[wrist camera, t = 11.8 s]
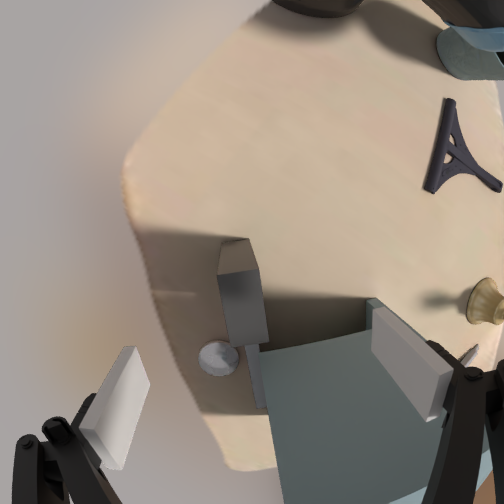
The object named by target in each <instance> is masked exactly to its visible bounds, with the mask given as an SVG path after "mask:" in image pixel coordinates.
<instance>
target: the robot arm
mask: <svg viewBox="0 0 504 504" xmlns="http://www.w3.org/2000/svg"><path fill="white" fill-rule="evenodd" d="M272 1H274V2H275V3H277V4H279V5H281V6H283V7H285V8H287V9H289V10H291V11H294V12H297V13H300V14H304V15H308V16H313V17H322V18H334V17H341V16H345V15H347V14H350V13H352V12H353V11H355V10H356V9H357V8H358V7H359V6H360V4H361V3H362V2H363V1H364V0H272ZM422 1H423V2H424V3H425V4H426V5H428V6H429V7H430V8H431V9H432V10H433V11H434V12H435V13H436V14H438V15H439V16H440V17H441V19H442V20H443V22H444V23H445V24H447V25H448V26H450V27H452V28H453V29H454V30H455V31H456V32H457V33H458V34H459V35H461V36H462V37H463V38H464V39H465V40H466V41H467V42H468V43H469V44H470V45H472V46H474V47H475V48H478V49H481V50H485V51H489V52H503V51H504V0H422ZM371 351H372V352H373V353H374V355H375V356H376V357H377V359H378V360H379V361H380V362H381V364H382V365H383V366H384V368H385V369H386V370H387V372H388V373H389V374H390V375H391V377H392V378H393V379H394V381H395V382H396V383H397V385H398V386H399V387H400V388H401V390H402V391H403V392H404V394H405V395H406V396H407V398H408V399H409V400H410V402H411V403H412V404H413V406H414V407H415V408H416V410H417V411H418V412H419V414H420V415H421V416H422V418H423V419H424V420H425V422H428V421H430V420H433V419H435V418H437V417H439V416H440V413H441V411H442V408H444V409H445V410H446V411H447V413H446V416H445V419H444V421H443V424H442V427H441V428H443V430H442V435H441V439H440V443H439V447H438V451H437V455H436V459H435V463H434V466H433V470H432V473H431V476H430V479H429V482H428V486H427V488H426V491H425V494H424V497H423V500H422V503H421V504H473V500H474V496H475V491H476V487H477V481H478V476H479V470H480V463H481V456H482V448H483V438H484V426H485V427H486V432H487V437H488V442H489V448H490V454H491V460H492V467H493V474H494V483H495V494H496V504H504V359H503V360H501V361H500V362H498V365H497V368H496V370H493V371H488V372H483V371H482V370H481V369H479V368H477V367H465V366H464V365H462V364H461V363H460V362H459V361H458V360H457V359H456V358H455V357H453V356H452V355H451V354H449V352H448V351H447V350H445V349H444V348H443V347H442V346H441V345H440V344H439V343H436V342H434V341H431V340H429V341H426V342H424V341H423V340H422V339H421V338H420V337H419V336H418V335H416V334H415V333H414V332H413V331H412V330H411V329H410V328H409V327H407V326H406V325H405V324H404V323H403V322H402V321H401V320H400V319H398V318H397V317H396V316H395V315H394V314H393V313H392V312H390V311H389V310H388V309H387V308H386V307H385V306H384V307H380V308H376V309H373V319H372V343H371ZM150 385H151V384H150V382H149V379H148V377H147V374H146V371H145V369H144V366H143V363H142V361H141V358H140V355H139V352H138V350H137V347H136V346H127V347H124V348H123V349H122V351H121V353H120V355H119V356H118V358H117V360H116V361H115V363H114V365H113V366H112V368H111V370H110V372H109V373H108V375H107V377H106V379H105V381H104V382H103V384H102V386H101V387H100V389H99V391H98V393H97V394H96V393H92V394H91V395H90V396H88V397H87V398H86V399H85V401H84V402H83V404H82V406H81V408H80V409H79V411H78V413H77V414H76V416H75V418H74V420H73V422H72V423H71V425H69V424H68V422H67V421H66V419H65V418H63V417H53V418H50V419H48V420H47V421H46V422H45V423H44V424H43V426H42V432H43V433H44V435H45V436H46V438H47V439H48V441H46V442H40V441H39V440H38V438H37V437H36V436H35V435H32V434H27V435H25V436H22V437H21V438H20V439H19V440H18V441H17V444H16V451H15V458H14V468H13V482H12V504H70V500H69V494H70V496H71V498H72V501H73V503H74V504H122V502H121V501H120V499H119V498H118V496H117V495H116V493H115V492H114V490H113V488H112V487H111V485H110V483H109V482H108V480H107V478H106V476H105V475H104V473H103V471H102V470H101V469H100V464H101V461H102V462H103V463H104V465H105V466H106V467H107V469H114V470H122V469H123V466H124V463H125V460H126V456H127V453H128V450H129V447H130V444H131V441H132V438H133V435H134V432H135V428H136V426H137V423H138V420H139V417H140V414H141V411H142V408H143V405H144V402H145V399H146V397H147V394H148V391H149V388H150Z"/></svg>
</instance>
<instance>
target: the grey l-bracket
mask: <svg viewBox="0 0 504 504" xmlns="http://www.w3.org/2000/svg"><path fill="white" fill-rule="evenodd" d="M217 279H218V284H219V290H220V295H221V300H222V306H223V311H224V316H225V321H226V326H227V331H228V336H229V341H230V346H231V348H233V347H240V346H245V350H246V356H247V361H248V366H249V372H250V377H251V382H252V388H253V393H254V398H255V403H256V408H257V409H258V408H264V407H267V403H266V397H265V391H264V385H263V379H262V373H261V367H260V361H259V355H258V353H260V349H259V344H260V343H266V342H269V336H268V329H267V322H266V315H265V308H264V300H263V293H262V286H261V279H260V272H259V267H258V264H257V261H256V258H255V255H254V252H253V249H252V246H251V243H250V240H249V239H243V240H237V241H230V242H224V243H222V245H221V251H220V258H219V264H218V271H217Z"/></svg>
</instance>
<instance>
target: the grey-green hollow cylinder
mask: <svg viewBox="0 0 504 504" xmlns="http://www.w3.org/2000/svg"><path fill="white" fill-rule="evenodd" d="M437 51H438V54H439V57H440V59H441V61H442V63H443V65H444V66H445V68H446V69H447V70H448V71H449V72H450V73H451V74H452V75H453V76H455V77H456V78H458V79H460V80H485V79H486V80H504V51H503V52H489V51H485V50H481V49H478V48H475V47H474V46H472V45H470V44H469V43H468V42H467V41H466V40H465V39H464V38H463V37H462V36H461V35H459V34H458V33H457V32H456V31H455V30H454V29H453V28H452V27H449V28H447V29H445V30H443V31H442V32H440V34H439V35H438V37H437Z"/></svg>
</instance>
